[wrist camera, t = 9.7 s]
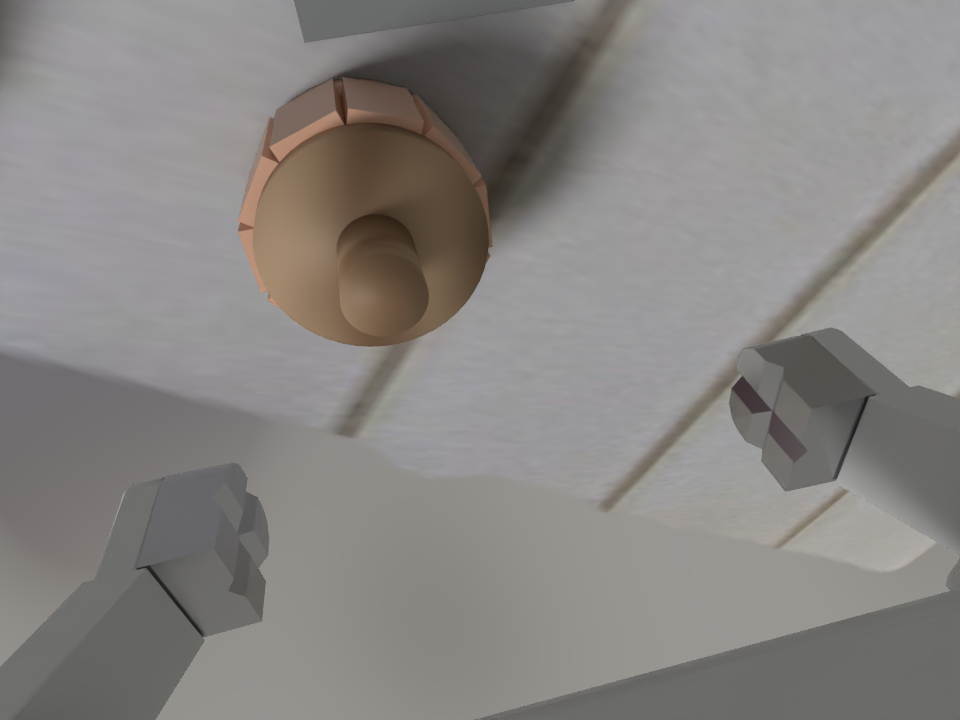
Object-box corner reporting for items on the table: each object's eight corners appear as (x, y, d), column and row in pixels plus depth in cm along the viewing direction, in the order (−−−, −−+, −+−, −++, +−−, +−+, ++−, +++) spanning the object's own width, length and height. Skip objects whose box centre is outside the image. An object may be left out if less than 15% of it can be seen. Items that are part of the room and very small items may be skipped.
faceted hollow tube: (449, 57, 28) (476, 86, 23) (474, 263, 34) (499, 318, 30) (220, 94, 27) (200, 133, 22) (291, 299, 33) (287, 363, 29)
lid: (469, 103, 23) (502, 143, 19) (492, 309, 29) (520, 373, 25) (218, 146, 22) (197, 198, 18) (294, 351, 28) (291, 424, 24)
